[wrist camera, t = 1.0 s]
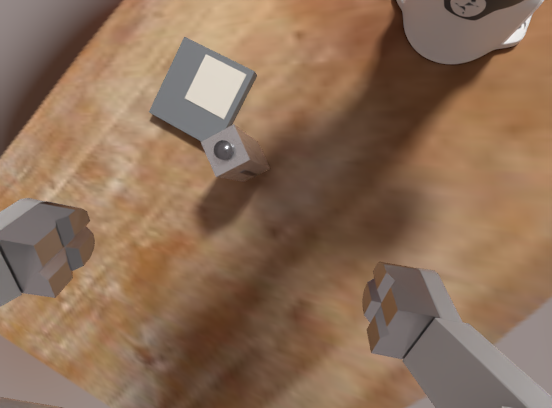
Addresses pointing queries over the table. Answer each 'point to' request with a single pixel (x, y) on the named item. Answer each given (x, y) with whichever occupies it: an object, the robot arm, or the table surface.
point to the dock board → (202, 91)
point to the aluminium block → (235, 155)
